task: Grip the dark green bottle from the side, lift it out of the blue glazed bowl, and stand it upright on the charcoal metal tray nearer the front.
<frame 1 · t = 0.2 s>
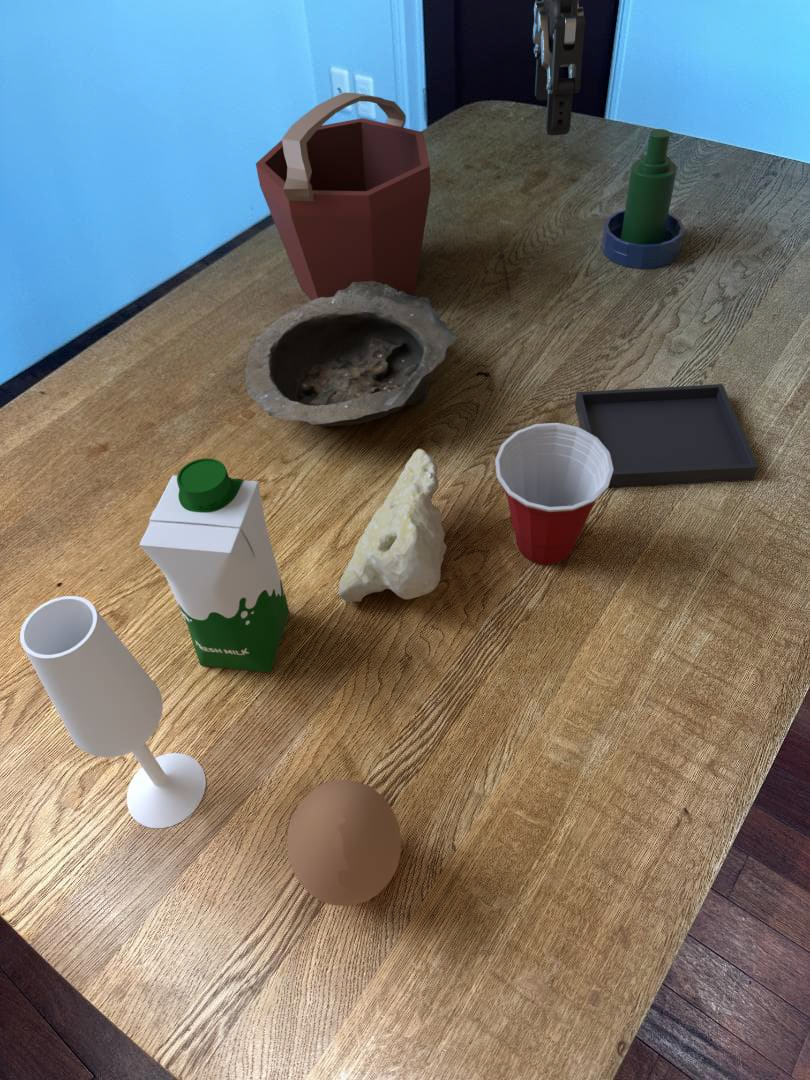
hand: (551, 115, 81), 30 cm above the table, tool pointing down, fingers open, 8 cm apart
bowl: (639, 251, 120), on the table
tray: (659, 440, 93), on the table
bottle: (640, 248, 119), resting on bowl
bucket: (356, 284, 119), on the table
egg: (352, 868, 64), on the table
plastic cup: (544, 547, 84), on the table
champagne flute: (167, 790, 69), on the table
cheese: (399, 553, 84), on the table
milk carton: (246, 640, 78), on the table
stone bowl: (350, 397, 102), on the table
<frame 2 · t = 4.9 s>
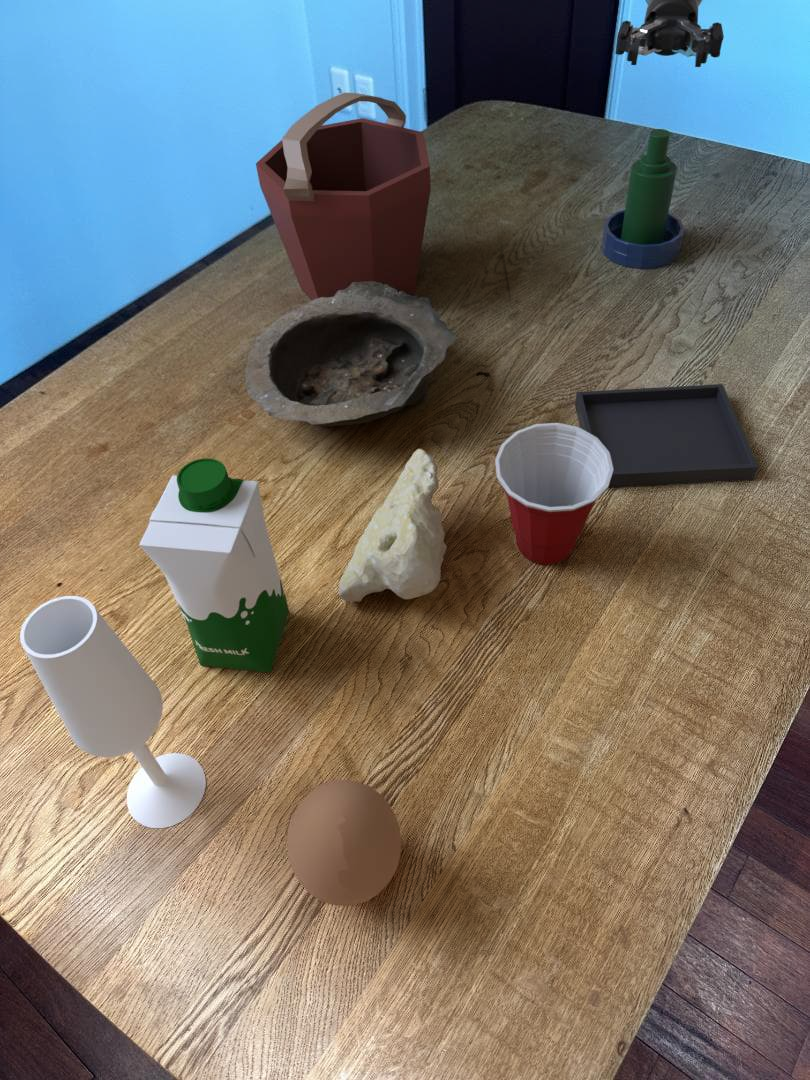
hand: (666, 58, 110), 22 cm above the table, tool horizontal, fingers open, 8 cm apart
nothing on the table moved.
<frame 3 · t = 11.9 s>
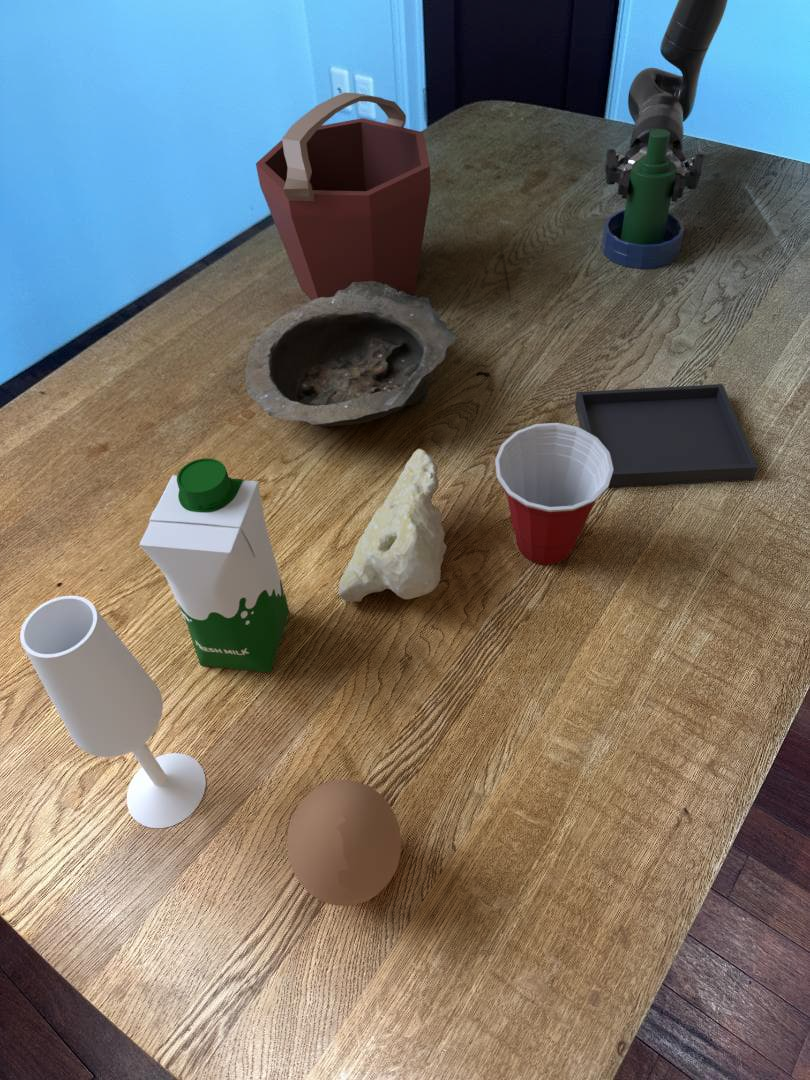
hand: (650, 193, 111), 10 cm above the table, tool horizontal, fingers closed on bottle, 6 cm apart
bottle: (640, 248, 119), point 1 cm above the table, touching bowl, gripper
everything else where it was.
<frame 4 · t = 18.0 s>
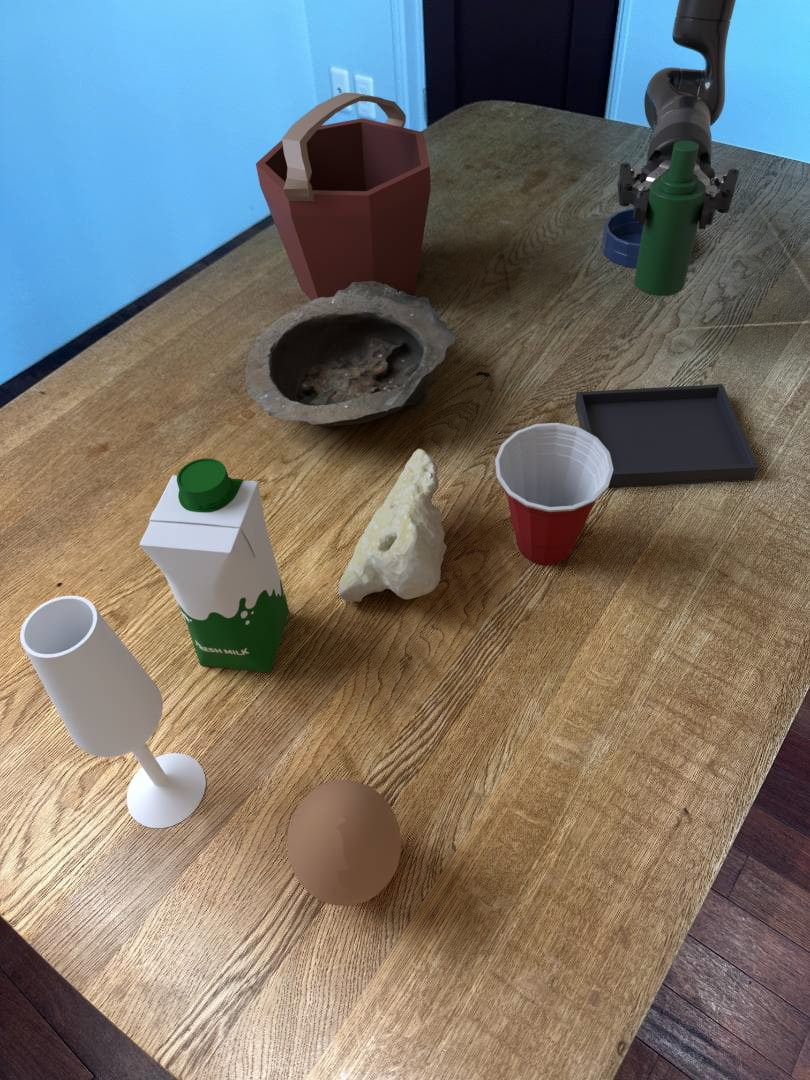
hand: (673, 218, 91), 18 cm above the table, tool horizontal, fingers closed on bottle, 6 cm apart
bottle: (659, 282, 100), point 8 cm above the table, touching gripper
everything else where it was.
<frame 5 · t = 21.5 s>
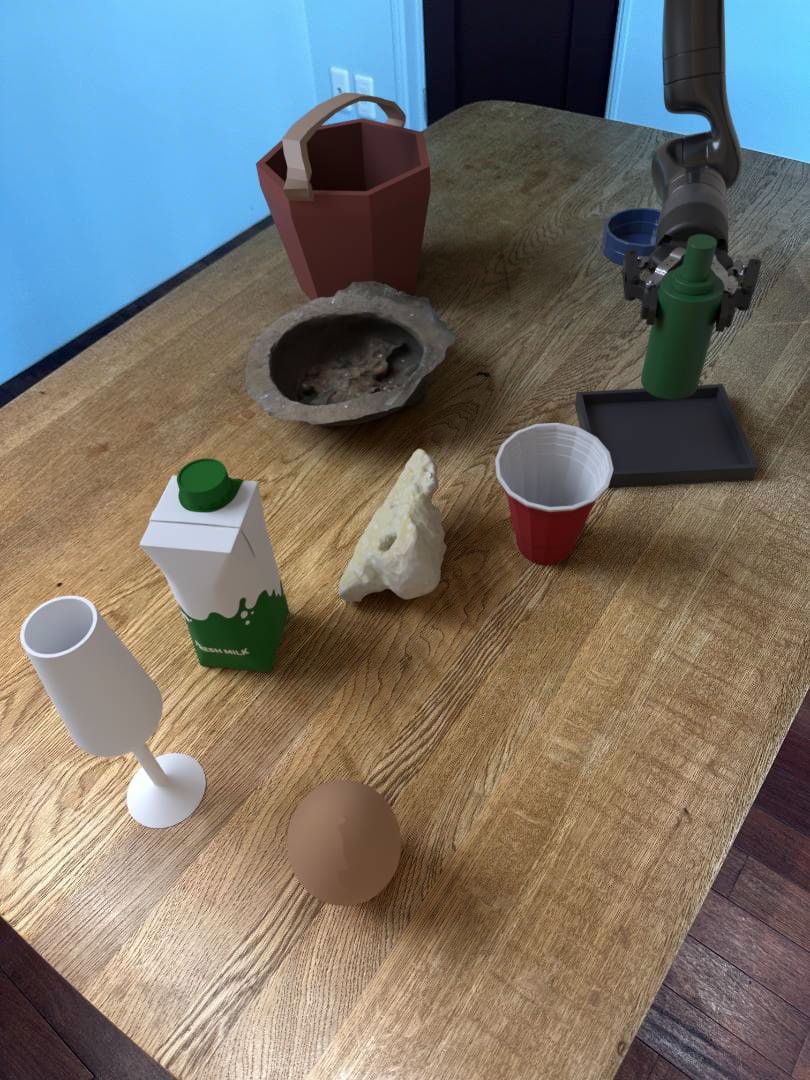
hand: (686, 320, 79), 17 cm above the table, tool horizontal, fingers closed on bottle, 6 cm apart
bottle: (669, 382, 88), point 8 cm above the table, touching gripper
everything else where it was.
when the fingers open (10 cm above the table, at t = 24.5 s): bottle stays where it is, resting on tray.
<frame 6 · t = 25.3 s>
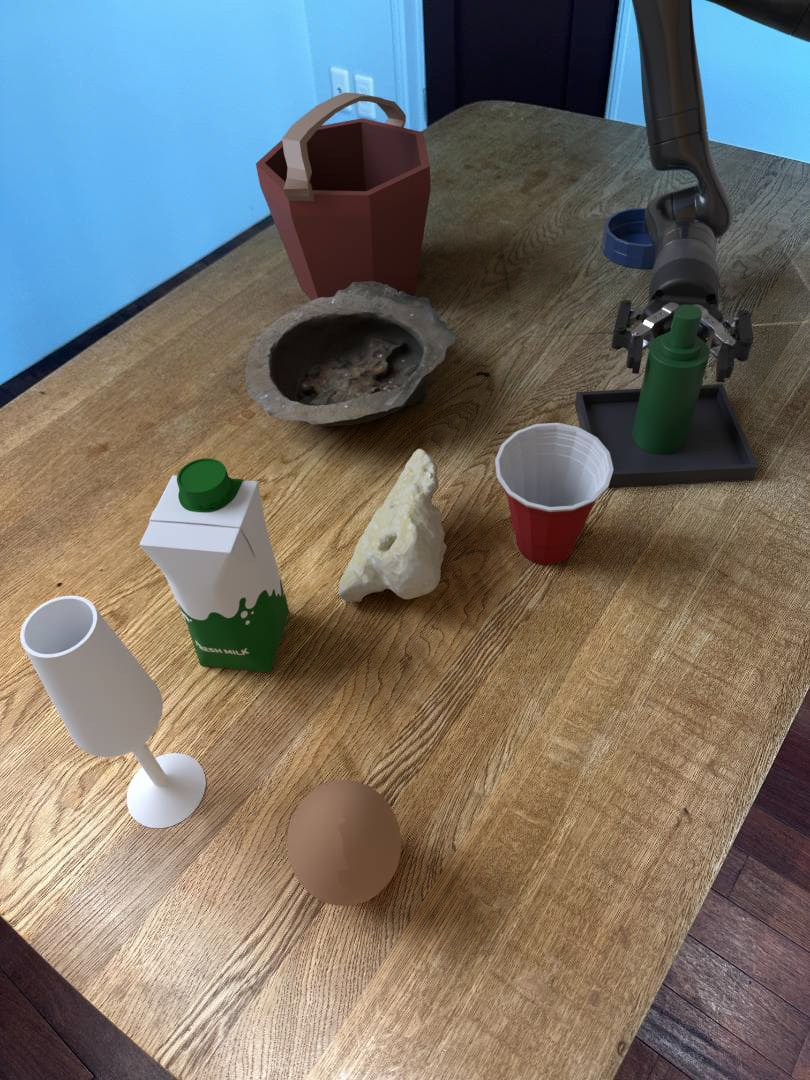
hand: (679, 371, 84), 11 cm above the table, tool horizontal, fingers open, 8 cm apart
bottle: (659, 436, 93), resting on tray
everything else where it was.
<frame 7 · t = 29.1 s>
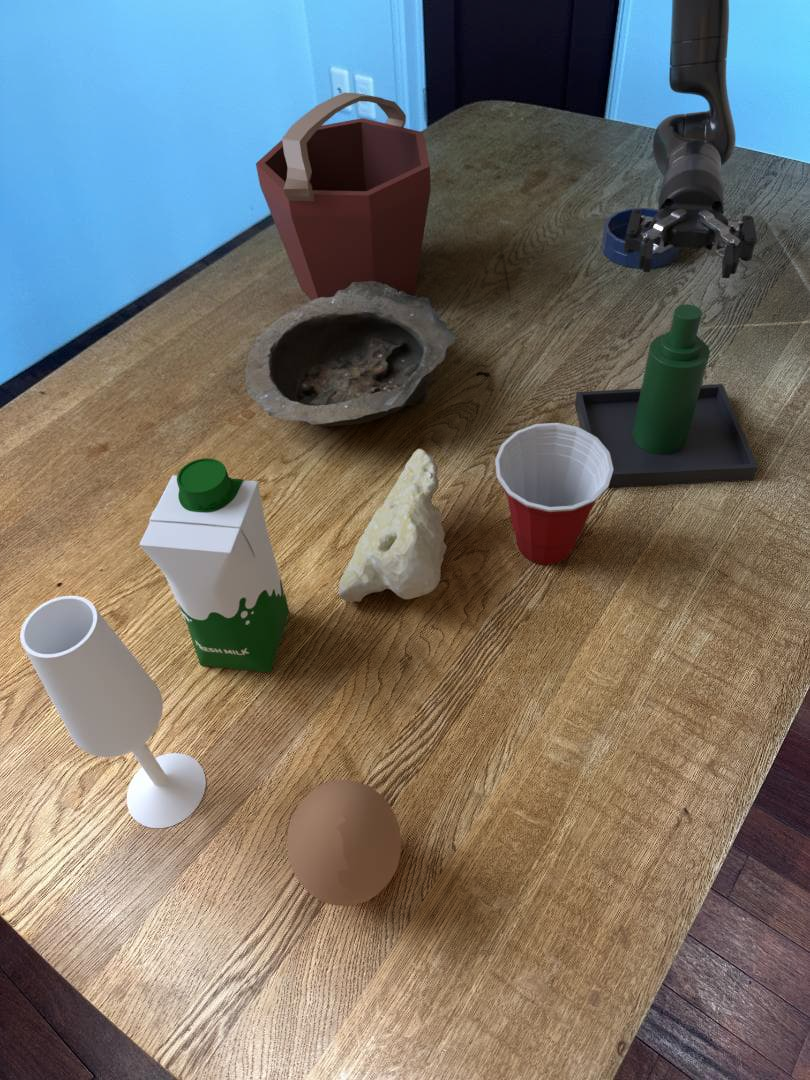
hand: (687, 267, 90), 15 cm above the table, tool horizontal, fingers open, 8 cm apart
nothing on the table moved.
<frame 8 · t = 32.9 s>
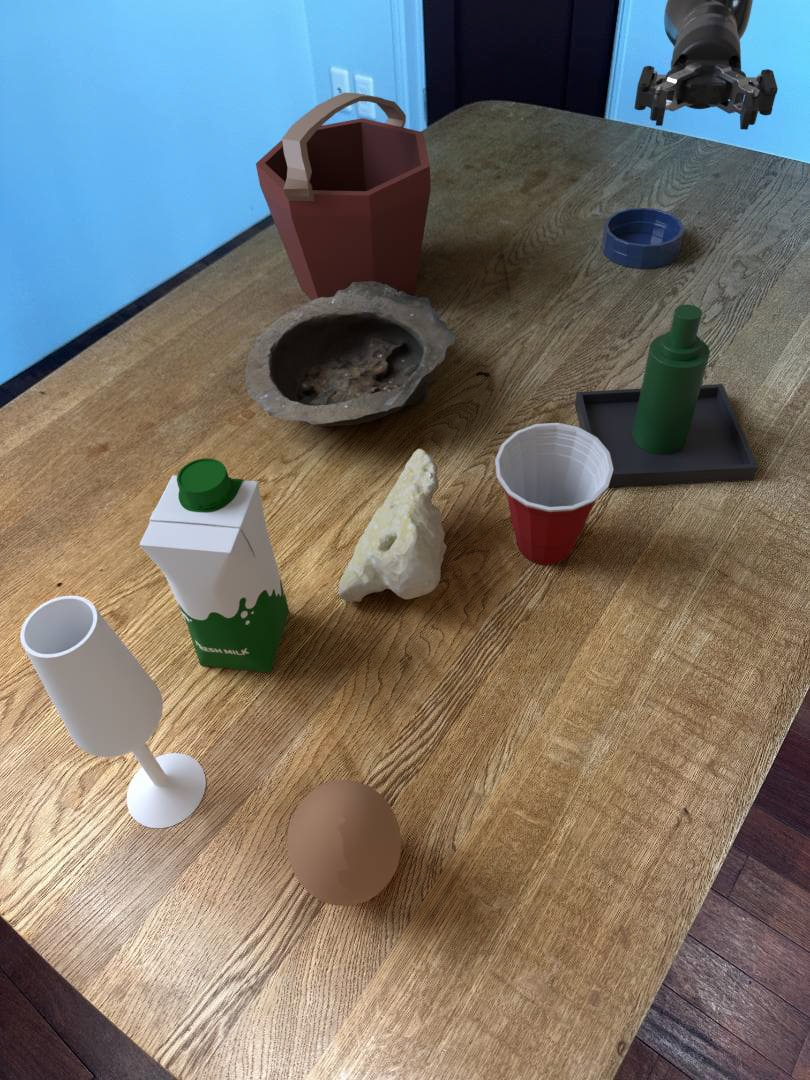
hand: (703, 118, 84), 28 cm above the table, tool horizontal, fingers open, 8 cm apart
nothing on the table moved.
at the end: bottle inside the target area in the tray (0.1 cm from its centre), point 0.5 cm above the tray's base; bottle tilted 0°; the gripper is holding nothing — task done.
